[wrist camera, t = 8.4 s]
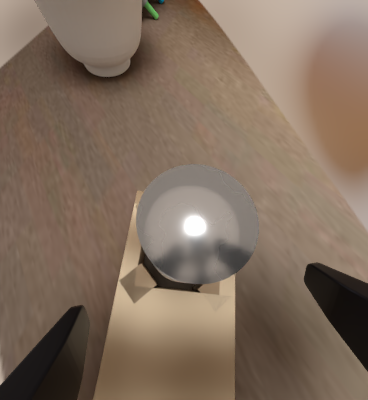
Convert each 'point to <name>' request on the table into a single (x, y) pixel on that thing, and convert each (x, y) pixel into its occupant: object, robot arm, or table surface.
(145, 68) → the table surface
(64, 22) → the teacup
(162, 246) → the translucent cylinder
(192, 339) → the jig
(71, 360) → the robot arm
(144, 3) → the gear
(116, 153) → the table surface
